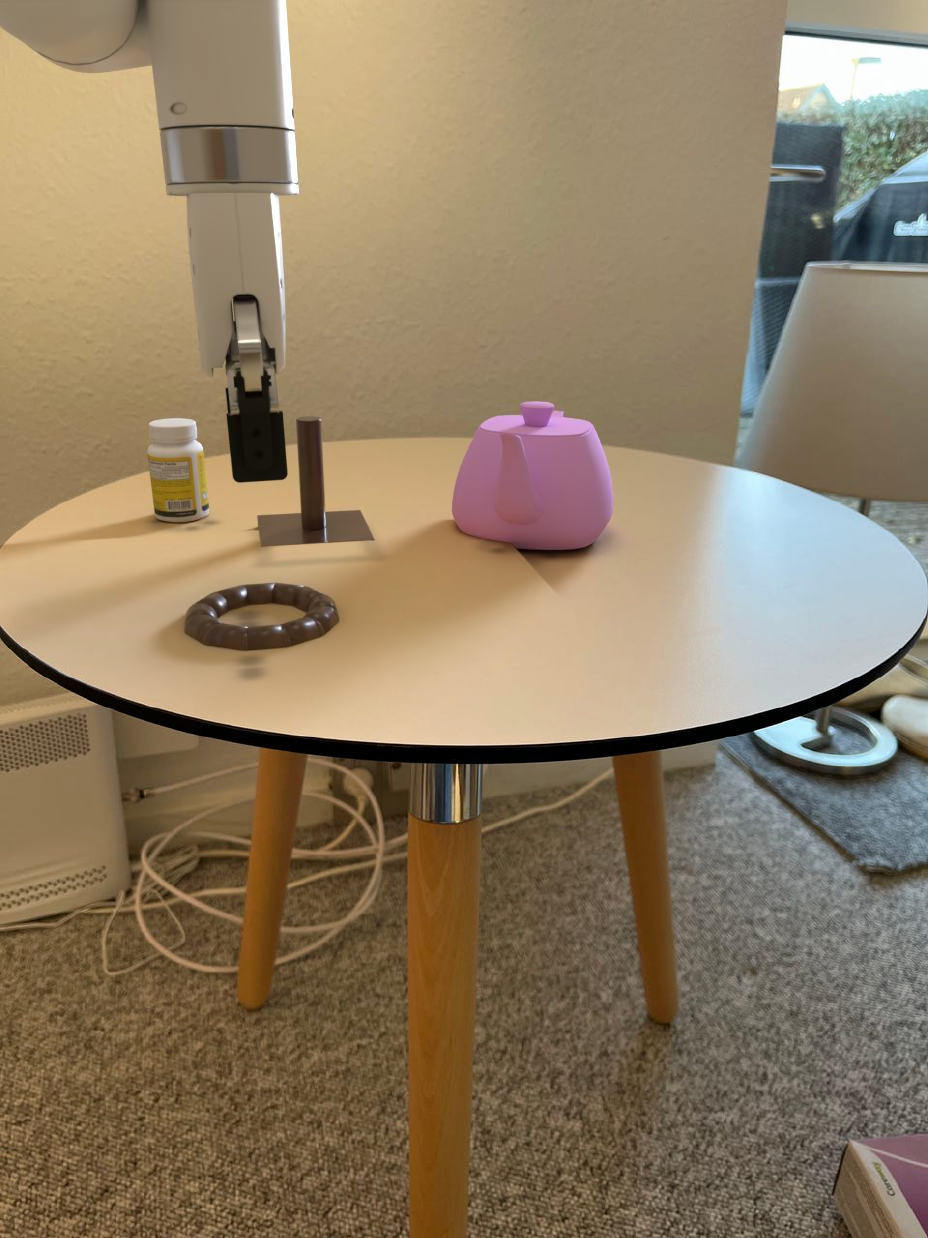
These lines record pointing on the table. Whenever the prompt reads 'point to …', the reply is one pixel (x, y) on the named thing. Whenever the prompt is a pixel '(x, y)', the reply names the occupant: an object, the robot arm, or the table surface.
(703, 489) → the table surface
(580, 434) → the teapot
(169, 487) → the supplement bottle
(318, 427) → the stand
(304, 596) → the ring
